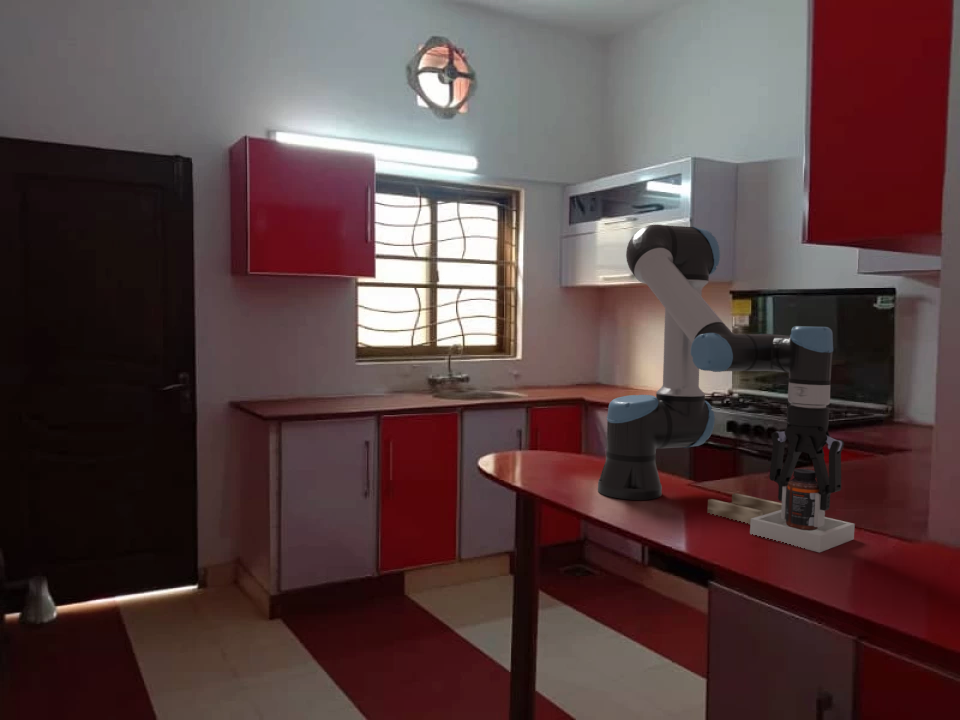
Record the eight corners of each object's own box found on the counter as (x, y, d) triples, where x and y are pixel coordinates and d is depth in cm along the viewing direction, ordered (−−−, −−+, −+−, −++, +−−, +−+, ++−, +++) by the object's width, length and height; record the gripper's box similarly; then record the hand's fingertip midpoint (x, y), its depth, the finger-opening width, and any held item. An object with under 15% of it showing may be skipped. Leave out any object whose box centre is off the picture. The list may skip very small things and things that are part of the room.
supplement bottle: (822, 532, 143) (825, 474, 142) (789, 530, 144) (792, 472, 143) (814, 524, 149) (817, 468, 148) (782, 522, 150) (785, 466, 149)
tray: (749, 534, 148) (750, 518, 147) (785, 522, 156) (786, 508, 156) (819, 552, 137) (820, 536, 137) (853, 539, 146) (854, 523, 145)
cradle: (707, 513, 162) (707, 499, 162) (735, 506, 169) (735, 493, 169) (758, 526, 153) (758, 512, 153) (785, 517, 160) (785, 504, 160)
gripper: (753, 401, 150) (748, 514, 151) (848, 412, 135) (842, 536, 137) (772, 399, 155) (767, 508, 156) (867, 409, 140) (860, 530, 142)
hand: (802, 521), depth 146 cm, fingers closed on supplement bottle, 6 cm apart
